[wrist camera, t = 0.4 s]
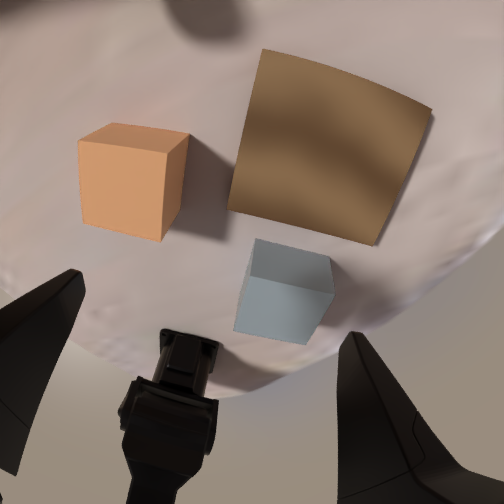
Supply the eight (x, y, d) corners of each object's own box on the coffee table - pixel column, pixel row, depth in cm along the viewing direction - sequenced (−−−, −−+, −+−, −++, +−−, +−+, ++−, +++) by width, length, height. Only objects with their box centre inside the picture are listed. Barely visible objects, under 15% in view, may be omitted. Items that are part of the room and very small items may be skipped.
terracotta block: (180, 208, 22) (160, 242, 19) (111, 194, 22) (83, 223, 18) (190, 133, 19) (167, 153, 15) (113, 122, 18) (77, 140, 15)
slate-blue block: (304, 305, 27) (305, 345, 24) (240, 291, 27) (233, 330, 23) (328, 255, 24) (335, 294, 20) (255, 237, 23) (249, 275, 20)
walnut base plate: (369, 238, 22) (372, 246, 21) (228, 202, 21) (226, 209, 21) (425, 106, 16) (432, 109, 15) (263, 49, 15) (262, 48, 14)
